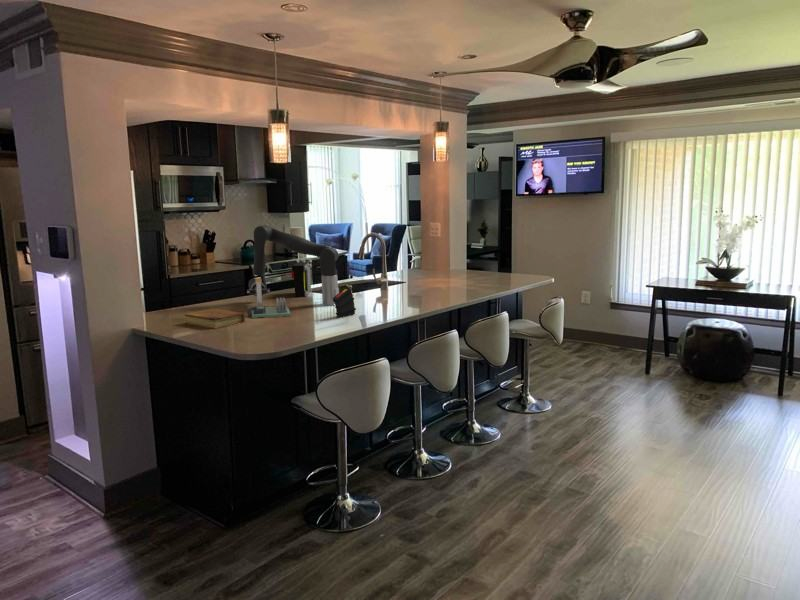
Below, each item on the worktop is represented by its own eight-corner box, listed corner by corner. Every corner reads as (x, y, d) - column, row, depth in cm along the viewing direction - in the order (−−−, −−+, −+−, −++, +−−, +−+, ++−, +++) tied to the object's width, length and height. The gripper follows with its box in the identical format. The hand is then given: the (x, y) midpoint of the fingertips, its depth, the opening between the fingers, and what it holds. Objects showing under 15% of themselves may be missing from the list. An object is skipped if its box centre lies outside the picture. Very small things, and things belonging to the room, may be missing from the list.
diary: (245, 323, 307) (244, 312, 306) (215, 330, 292) (215, 318, 291) (214, 318, 320) (214, 307, 319) (185, 324, 304) (184, 313, 303)
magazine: (359, 310, 327) (350, 287, 319) (344, 324, 319) (334, 301, 312) (355, 310, 329) (345, 286, 322) (339, 323, 321) (329, 300, 314)
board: (251, 310, 338) (251, 308, 337) (287, 308, 343) (287, 306, 342) (252, 318, 317) (251, 315, 316) (290, 316, 322) (290, 313, 321)
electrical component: (308, 297, 382) (306, 265, 378) (291, 297, 382) (290, 265, 378) (312, 292, 399) (311, 262, 395) (297, 292, 399) (296, 262, 396)
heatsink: (247, 311, 335) (247, 299, 334) (285, 309, 340) (284, 297, 339) (248, 317, 319) (247, 304, 318) (287, 315, 324) (286, 302, 323)
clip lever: (252, 309, 333) (250, 278, 330) (263, 308, 334) (262, 278, 331) (252, 310, 328) (250, 279, 325) (263, 310, 330) (262, 279, 327)
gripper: (270, 294, 350) (271, 299, 333) (246, 295, 347) (246, 300, 330) (269, 282, 349) (270, 286, 332) (246, 282, 345) (246, 287, 329)
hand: (258, 293), depth 331 cm, fingers closed
